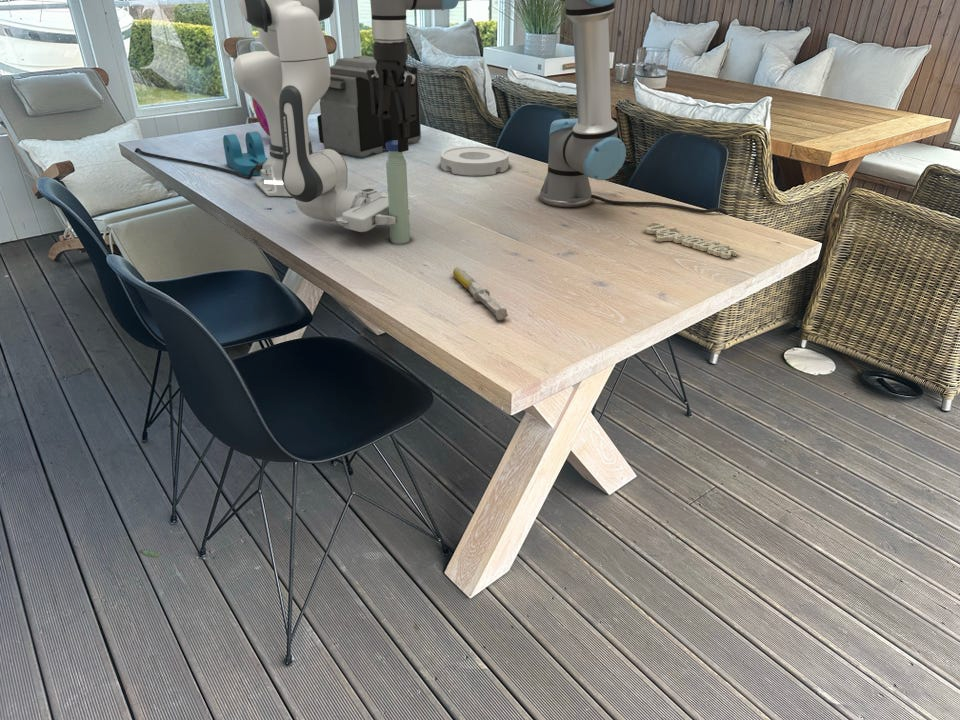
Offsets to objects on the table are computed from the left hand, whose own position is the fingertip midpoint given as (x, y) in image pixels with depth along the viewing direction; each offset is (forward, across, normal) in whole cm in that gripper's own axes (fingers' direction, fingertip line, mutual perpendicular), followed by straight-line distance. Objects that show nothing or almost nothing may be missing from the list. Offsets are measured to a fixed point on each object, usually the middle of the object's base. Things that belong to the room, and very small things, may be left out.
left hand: (402, 216), depth 170 cm
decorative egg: (-95, +74, +6) cm, 121 cm away
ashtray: (-13, +72, +6) cm, 74 cm away
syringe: (+31, -22, +6) cm, 38 cm away
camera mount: (-79, +36, +6) cm, 87 cm away
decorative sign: (+65, +30, +6) cm, 72 cm away
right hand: (-1, 0, -16) cm, 16 cm away
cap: (-1, 0, -18) cm, 18 cm away
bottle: (-1, 0, +6) cm, 6 cm away
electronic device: (-60, +81, +6) cm, 101 cm away
